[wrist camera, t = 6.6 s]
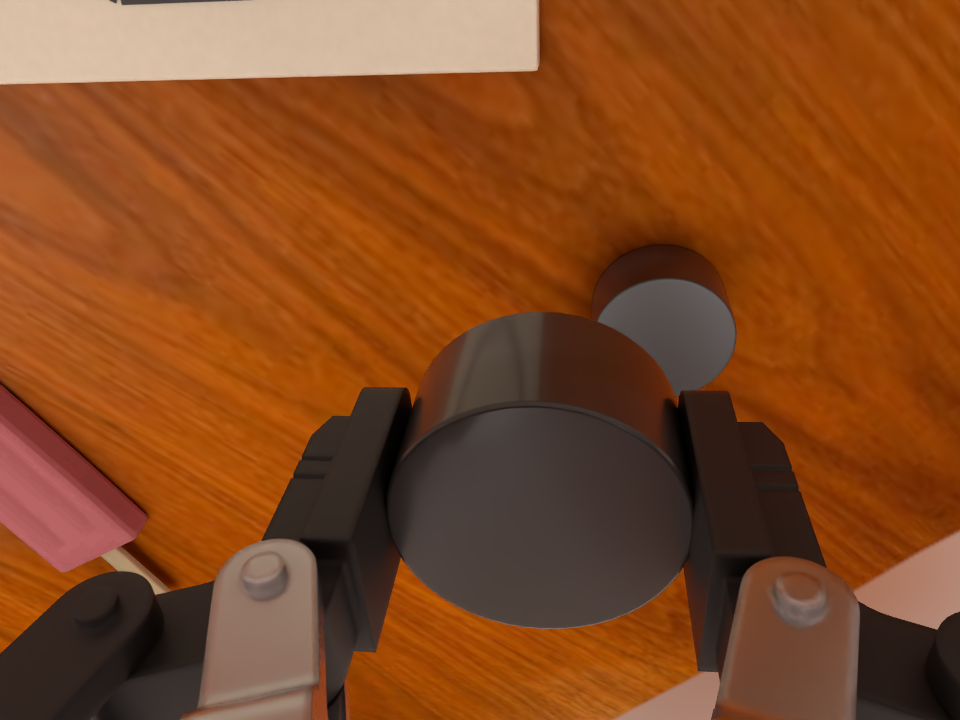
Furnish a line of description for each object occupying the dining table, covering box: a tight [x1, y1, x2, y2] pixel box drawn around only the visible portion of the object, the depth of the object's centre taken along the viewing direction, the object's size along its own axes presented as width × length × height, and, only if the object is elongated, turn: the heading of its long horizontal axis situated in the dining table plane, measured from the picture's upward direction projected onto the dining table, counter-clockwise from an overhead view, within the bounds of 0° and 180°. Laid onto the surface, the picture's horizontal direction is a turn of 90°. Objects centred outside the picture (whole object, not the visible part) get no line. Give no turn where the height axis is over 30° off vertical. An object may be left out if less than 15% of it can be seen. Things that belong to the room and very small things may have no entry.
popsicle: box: [0, 385, 171, 595], centre depth 34 cm, size 5×2×15 cm
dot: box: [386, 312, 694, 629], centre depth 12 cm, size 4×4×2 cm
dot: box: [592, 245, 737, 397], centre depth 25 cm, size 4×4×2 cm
